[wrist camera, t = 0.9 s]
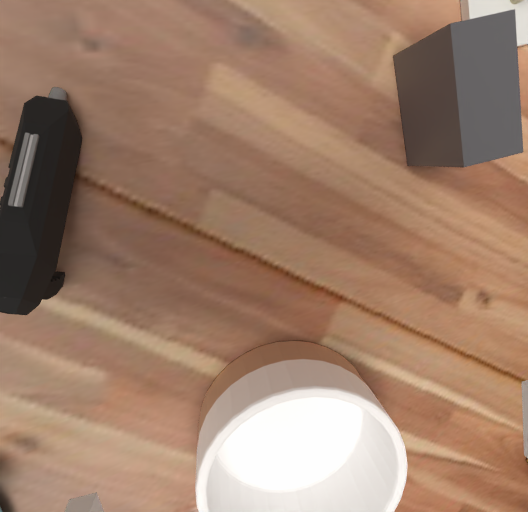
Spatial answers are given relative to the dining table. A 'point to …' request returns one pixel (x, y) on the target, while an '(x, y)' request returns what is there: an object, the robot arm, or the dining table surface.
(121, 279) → the dining table surface
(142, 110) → the dining table surface
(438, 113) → the block
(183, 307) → the dining table surface
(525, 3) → the white peg board
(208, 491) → the bowl
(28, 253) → the gun
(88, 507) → the robot arm
